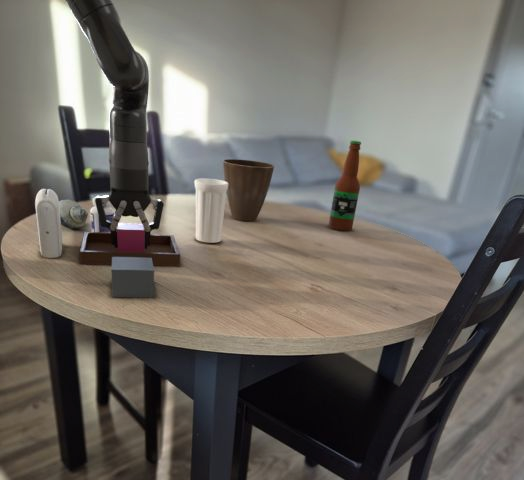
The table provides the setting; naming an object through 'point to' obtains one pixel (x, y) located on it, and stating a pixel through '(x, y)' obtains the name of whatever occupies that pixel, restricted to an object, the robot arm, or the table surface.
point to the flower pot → (246, 187)
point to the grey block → (132, 277)
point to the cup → (210, 209)
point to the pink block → (130, 237)
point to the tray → (102, 251)
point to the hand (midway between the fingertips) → (130, 246)
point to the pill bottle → (96, 221)
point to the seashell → (72, 214)
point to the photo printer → (48, 223)
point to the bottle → (346, 192)
